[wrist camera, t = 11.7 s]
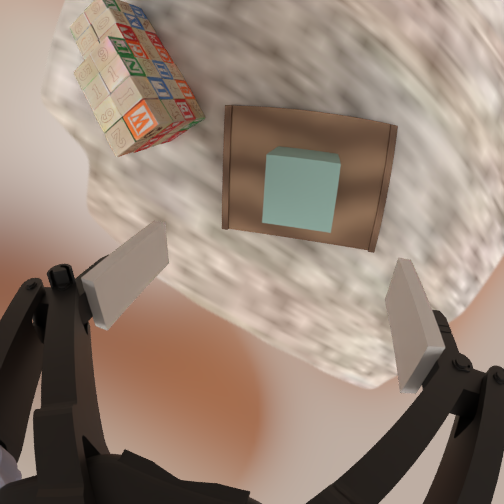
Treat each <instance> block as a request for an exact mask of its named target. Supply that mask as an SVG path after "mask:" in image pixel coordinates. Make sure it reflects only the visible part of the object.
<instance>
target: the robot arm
mask: <svg viewBox="0 0 504 504" xmlns="http://www.w3.org/2000/svg"><path fill="white" fill-rule="evenodd" d="M168 264H169V259H168V248H167V236H166V223H165V222H161V221H153V222H152V223H150V224H149V225H148V226H146V227H145V228H144V229H142V230H141V231H140V232H138V233H137V234H136V235H134V236H133V237H132V238H130V239H129V240H128V241H126V242H125V243H124V244H123V245H121V246H120V247H119V248H117V249H116V250H115V251H114V252H112V253H111V254H110V255H107V256H105V257H102V258H101V259H99V260H98V261H97V262H95V263H94V265H92V266H90V267H89V268H88V269H87V270H85V271H84V272H83V273H82V274H80V275H79V276H78V277H77V278H76V279H75V278H74V275H73V271H72V267H71V266H70V265H68V264H59V265H57V266H54V267H52V268H51V269H50V270H49V271H48V272H47V276H48V279H49V282H50V285H51V287H44V286H43V283H42V280H41V279H39V278H31V279H29V280H27V281H26V282H24V283H23V284H22V285H21V287H20V288H19V290H18V292H17V293H16V295H15V297H14V298H13V300H12V301H11V303H10V305H9V306H8V308H7V310H6V312H5V313H4V315H3V317H2V319H1V320H0V504H261V503H260V502H258V501H256V500H254V499H252V498H250V497H249V495H250V491H246V490H241V489H237V488H233V487H229V486H225V485H221V484H217V483H205V482H204V483H203V482H192V481H184V480H180V479H178V478H176V477H175V476H173V475H172V474H170V473H168V472H167V471H166V470H164V469H163V468H161V467H160V466H158V465H156V464H155V463H154V462H153V461H150V460H148V459H146V458H143V457H141V456H139V455H137V454H134V453H132V452H130V451H128V450H124V452H123V453H122V455H118V454H110V452H109V450H108V448H107V446H106V443H105V439H104V435H103V430H102V425H101V419H100V413H99V407H98V402H97V395H96V387H95V379H94V370H93V361H92V349H91V335H90V325H89V322H88V321H89V320H90V319H91V318H92V317H93V319H94V322H95V325H96V326H98V327H100V328H102V329H105V330H108V329H109V328H110V327H111V326H112V325H113V324H114V323H115V321H116V320H117V319H118V318H119V317H120V316H121V315H122V314H123V312H124V311H125V310H126V309H127V308H128V307H129V306H130V304H131V303H132V302H133V301H134V300H135V299H136V298H137V297H138V296H139V295H140V294H141V292H142V291H143V290H144V289H145V288H146V287H147V286H148V285H149V284H150V283H151V282H152V281H153V280H154V278H155V277H156V276H157V275H158V274H159V273H160V272H161V271H162V270H163V269H164V268H165V267H166V266H167V265H168ZM385 303H386V308H387V313H388V318H389V323H390V329H391V334H392V340H393V346H394V352H395V358H396V365H397V372H398V380H399V388H400V393H417V391H418V390H419V388H420V387H421V385H422V387H423V391H422V392H421V393H420V395H419V396H418V397H417V398H416V400H415V401H414V402H413V403H412V405H411V406H410V407H409V408H408V409H407V411H406V412H405V413H404V414H403V415H402V416H401V417H400V419H399V420H398V421H397V422H396V423H395V424H394V425H393V427H392V428H391V429H390V430H389V431H388V432H387V433H386V434H385V435H384V436H383V437H382V438H381V439H380V440H379V441H378V442H377V443H376V445H374V446H373V447H372V448H371V449H370V450H369V451H368V452H367V454H365V455H364V456H363V457H362V458H361V459H360V460H359V461H358V462H357V463H356V464H355V465H354V466H352V467H351V468H350V469H349V470H348V471H347V472H346V473H345V474H343V475H342V476H341V477H340V478H339V479H338V480H336V481H335V482H334V483H333V484H331V485H329V486H328V487H327V488H326V489H324V490H323V491H322V492H320V493H319V494H318V495H316V496H315V497H314V498H313V499H311V500H310V501H308V502H307V503H306V504H378V503H379V502H380V501H381V500H382V499H383V498H384V497H385V496H386V495H387V494H388V493H389V492H390V491H391V490H392V489H393V487H394V486H395V485H396V484H397V483H398V482H399V481H400V480H401V478H402V477H403V476H404V475H405V474H406V472H407V471H408V470H409V469H410V467H411V466H412V465H413V464H414V463H415V461H416V460H417V459H418V457H419V456H420V455H421V453H422V452H423V451H424V450H425V448H426V447H427V445H428V444H429V443H430V441H431V440H432V439H433V437H434V436H435V434H436V433H437V431H438V430H439V428H440V427H441V425H442V424H443V422H444V421H445V419H446V417H447V416H448V414H449V413H451V414H454V415H456V416H455V420H454V424H453V427H452V430H451V434H450V437H449V440H448V443H447V446H446V449H445V452H444V454H443V457H442V460H441V462H440V465H439V468H438V471H437V473H436V475H435V478H434V480H433V482H432V485H431V487H430V489H429V492H428V494H427V496H426V498H425V500H424V502H423V504H491V501H492V498H493V494H494V491H495V487H496V484H497V480H498V476H499V472H500V467H501V462H502V458H503V452H504V369H503V368H502V367H499V366H492V367H490V368H489V370H488V371H487V372H486V373H484V372H481V371H478V370H475V369H473V366H472V363H471V361H470V360H469V359H468V358H467V357H466V356H465V355H463V354H461V353H459V351H458V348H457V346H456V343H455V340H454V337H453V335H452V334H451V329H450V327H449V324H448V322H447V319H446V318H445V316H444V315H443V314H442V313H441V312H440V311H437V310H432V308H431V306H430V303H429V301H428V298H427V296H426V293H425V291H424V288H423V286H422V284H421V281H420V279H419V277H418V274H417V272H416V270H415V268H414V265H413V263H412V261H411V260H409V259H403V258H398V261H397V264H396V267H395V271H394V274H393V277H392V280H391V283H390V286H389V289H388V292H387V295H386V298H385ZM32 319H33V324H32ZM41 371H42V383H41V408H40V409H36V410H35V411H34V415H33V430H34V449H35V461H36V471H37V475H36V476H32V477H29V478H25V479H21V478H22V475H21V472H20V471H19V470H18V469H17V462H18V460H19V457H20V454H21V451H22V446H23V443H24V438H25V433H26V428H27V424H28V419H29V415H30V411H31V406H32V403H33V399H34V395H35V392H36V388H37V384H38V381H39V378H40V374H41Z"/></svg>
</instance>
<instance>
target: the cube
mask: <svg viewBox="0 0 504 504" xmlns="http://www.w3.org/2000/svg"><path fill="white" fill-rule="evenodd" d="M340 167H341V163H340V159H339V155H338V154H335V153H329V152H321V151H314V150H306V149H298V148H289V147H280V146H278V147H276V148H275V149H274V150H272V151H271V152H269V153H268V154H267V155H266V171H265V186H264V202H263V217H262V223H268V224H275V225H282V226H289V227H295V228H302V229H309V230H315V231H322V232H328V233H331V228H332V222H333V216H334V209H335V203H336V196H337V189H338V182H339V175H340Z"/></svg>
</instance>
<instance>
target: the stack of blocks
mask: <svg viewBox="0 0 504 504" xmlns="http://www.w3.org/2000/svg"><path fill="white" fill-rule="evenodd" d="M70 30H71V32H72V34H73V36H74V38H75V40H76V43H77V46H78V48H79V50H80V52H81V54H82V56H83V58H84V60H85V61H84V62H83V63H82V64H81V65H80V66H79V67H78V68H77V69H76V70H75V72H74V75H75V77H76V79H77V81H78V83H79V85H80V87H81V89H82V91H83V92H84V94H85V96H86V98H87V100H88V102H89V104H90V106H91V108H92V110H93V113H94V115H95V117H96V119H97V121H98V123H99V124H100V126H101V128H102V130H103V132H104V133H105V137H106V139H107V141H108V143H109V144H110V146H111V148H112V150H113V152H114V154H115V156H116V157H119V156H122V155H125V154H128V153H131V152H134V153H135V152H138V151H141V150H144V149H147V148H149V147H152V146H155V145H158V144H162V143H166V142H170V141H172V140H173V139H175V138H176V137H178V136H179V135H181V134H182V133H183V132H185V131H187V129H189V128H190V127H192V126H194V125H195V124H197V123H198V122H200V121H202V120H203V119H205V116H204V114H203V112H202V111H201V109H200V107H199V105H198V103H197V102H196V100H195V97H194V95H193V93H192V92H191V90H190V88H189V87H188V85H187V83H186V81H185V80H184V78H183V76H182V74H181V73H180V71H179V69H178V68H177V66H176V65H175V64H174V63H173V61H172V59H171V58H170V56H169V54H168V52H167V51H166V49H164V47H163V45H162V43H161V41H160V40H159V38H158V37H157V35H156V32H155V30H154V29H153V27H152V25H151V24H150V22H149V21H148V19H147V17H146V16H145V14H144V13H143V11H142V9H141V8H139V7H137V6H134V5H131V4H128V3H126V2H123V1H120V0H95V1H94V2H93V3H92V4H91V5H90V6H89V7H88V8H87V9H86V10H85V11H84V12H83V13H82V14H81V15H80V16H79V18H78V19H77V20H76V21H75V22H74V23H73V24H72V25H71V26H70Z"/></svg>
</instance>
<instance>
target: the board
mask: <svg viewBox="0 0 504 504" xmlns="http://www.w3.org/2000/svg"><path fill="white" fill-rule="evenodd" d="M397 128H398V126H396V125H391V124H387V123H382V122H377V121H372V120H367V119H361V118H355V117H350V116H343V115H337V114H330V113H323V112H315V111H306V110H297V109H286V108H273V107H258V106H232V105H225V121H224V149H223V188H222V229H226V230H228V229H235V230H242V231H249V232H256V233H263V234H269V235H276V236H282V237H289V238H295V239H302V240H308V241H315V242H321V243H327V244H334V245H340V246H346V247H352V248H358V249H364V250H368V252H374V251H375V247H376V243H377V239H378V235H379V230H380V226H381V221H382V217H383V212H384V207H385V203H386V198H387V192H388V187H389V182H390V176H391V170H392V164H393V158H394V151H395V144H396V136H397ZM278 146H280V147H289V148H298V149H306V150H314V151H321V152H329V153H335V154H338V155H339V159H340V163H341V167H340V175H339V182H338V189H337V196H336V203H335V209H334V216H333V222H332V228H331V233H328V232H322V231H315V230H309V229H302V228H295V227H289V226H282V225H275V224H268V223H262V217H263V202H264V186H265V171H266V155H267V154H268V153H269V152H271V151H272V150H274V149H275V148H276V147H278Z"/></svg>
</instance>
